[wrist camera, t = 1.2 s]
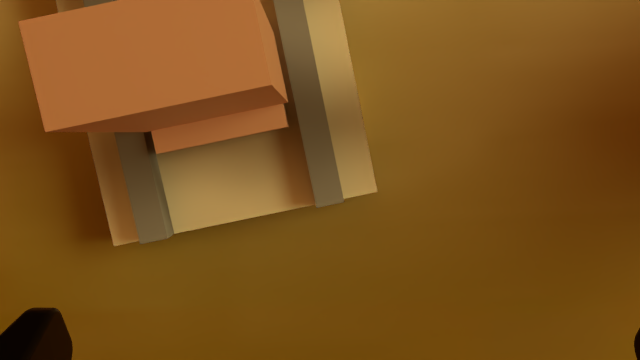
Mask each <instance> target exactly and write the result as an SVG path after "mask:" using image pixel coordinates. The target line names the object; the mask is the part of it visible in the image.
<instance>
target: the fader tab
mask: <svg viewBox="0 0 640 360" xmlns="http://www.w3.org/2000/svg"><path fill="white" fill-rule="evenodd" d="M18 23H19V27H20V31H21V35H22V39H23V43H24V47H25V51H26V55H27V60H28V64H29V68H30V72H31V76H32V80H33V84H34V88H35V92H36V97H37V101H38V105H39V109H40V113H41V117H42V121H43V125H44V129H45V132H149V131H151V133H152V137H153V142H154V146H155V150H156V154H159V153H166V152H171V151H176V150H181V149H185V148H190V147H195V146H200V145H205V144H209V143H214V142H219V141H224V140H229V139H233V138H238V137H243V136H248V135H253V134H257V133H262V132H267V131H272V130H277V129H281V128H286V127H289V125H288V120H287V115H286V110H285V106H284V103H288V99H287V94H286V89H285V85H284V80H283V75H282V70H281V65H280V61H279V56H278V51H277V46H276V42H275V37H274V32H273V30H272V28H271V25H270V23H269V21H268V18H267V16H266V14H265V11H264V9H263V7H262V4H261V2H260V0H117V1H112V2H108V3H103V4H98V5H94V6H89V7H84V8H79V9H75V10H70V11H65V12H60V13H56V14H51V15H46V16H41V17H37V18H32V19H27V20H22V21H18Z"/></svg>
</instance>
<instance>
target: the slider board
mask: <svg viewBox="0 0 640 360" xmlns="http://www.w3.org/2000/svg"><path fill="white" fill-rule="evenodd" d="M55 1H56V5H57V9H58V13H60V12H65V11H70V10H75V9H79V8H84V7H89V6H94V5H98V4H103V3H108V2H112V1H117V0H55ZM260 2H261V4H262V7H263V9H264V11H265V14H266V16H267V18H268V21H269V23H270V25H271V28H272V30H273V32H274V37H275V42H276V46H277V51H278V56H279V61H280V65H281V70H282V75H283V80H284V85H285V89H286V94H287V99H288V103H284V106H285V110H286V115H287V120H288V125H289V127H286V128H281V129H277V130H272V131H267V132H262V133H257V134H253V135H248V136H243V137H238V138H233V139H229V140H224V141H219V142H214V143H209V144H205V145H200V146H195V147H190V148H185V149H181V150H176V151H171V152H166V153H159V154H156V150H155V146H154V142H153V137H152V133H151V131H149V132H87V135H88V139H89V144H90V148H91V152H92V156H93V160H94V165H95V169H96V173H97V177H98V181H99V186H100V190H101V194H102V198H103V202H104V207H105V211H106V215H107V219H108V223H109V228H110V232H111V236H112V240H113V244H114V246H117V245H122V244H127V243H132V242H137V241H140V244H144V243H148V242H153V241H158V240H163V239H168V238H169V237H170V236H172V235H173V234H176V233H180V232H185V231H190V230H195V229H200V228H205V227H209V226H214V225H219V224H224V223H229V222H234V221H239V220H243V219H248V218H253V217H258V216H263V215H268V214H272V213H277V212H282V211H287V210H292V209H297V208H301V207H306V206H311V205H316V207H317V208H318V207H323V206H328V205H332V204H337V203H342V202H344V199H345V198H350V197H355V196H360V195H364V194H369V193H374V192H377V187H376V182H375V177H374V172H373V167H372V162H371V157H370V152H369V147H368V142H367V137H366V132H365V127H364V122H363V117H362V112H361V107H360V102H359V97H358V92H357V87H356V82H355V77H354V72H353V67H352V62H351V57H350V52H349V47H348V42H347V37H346V32H345V27H344V22H343V17H342V12H341V7H340V3H339V0H260Z"/></svg>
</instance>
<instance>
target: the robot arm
mask: <svg viewBox="0 0 640 360" xmlns="http://www.w3.org/2000/svg"><path fill="white" fill-rule="evenodd" d="M634 348H635V353H636V357H637V360H640V328H639V330H638V332H637V334H636V336H635V340H634ZM72 350H73V349H72V341H71V338H70V335H69V332H68V330H67V327H66V325H65V322H64V320H63V317H62V315H61V313H60V311H59V310H58V309H56V308H31V309H28V310H27V311H25V312H24V313H23V314H22V315H21V316H20V317H19V318H17V319H16V320H15V321H14V322H13V323H12V324H11V325H10V326H9V327H8V328H7V329H6V330H5V331H4V332H3V333H2V334H1V335H0V360H71V359H72Z"/></svg>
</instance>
